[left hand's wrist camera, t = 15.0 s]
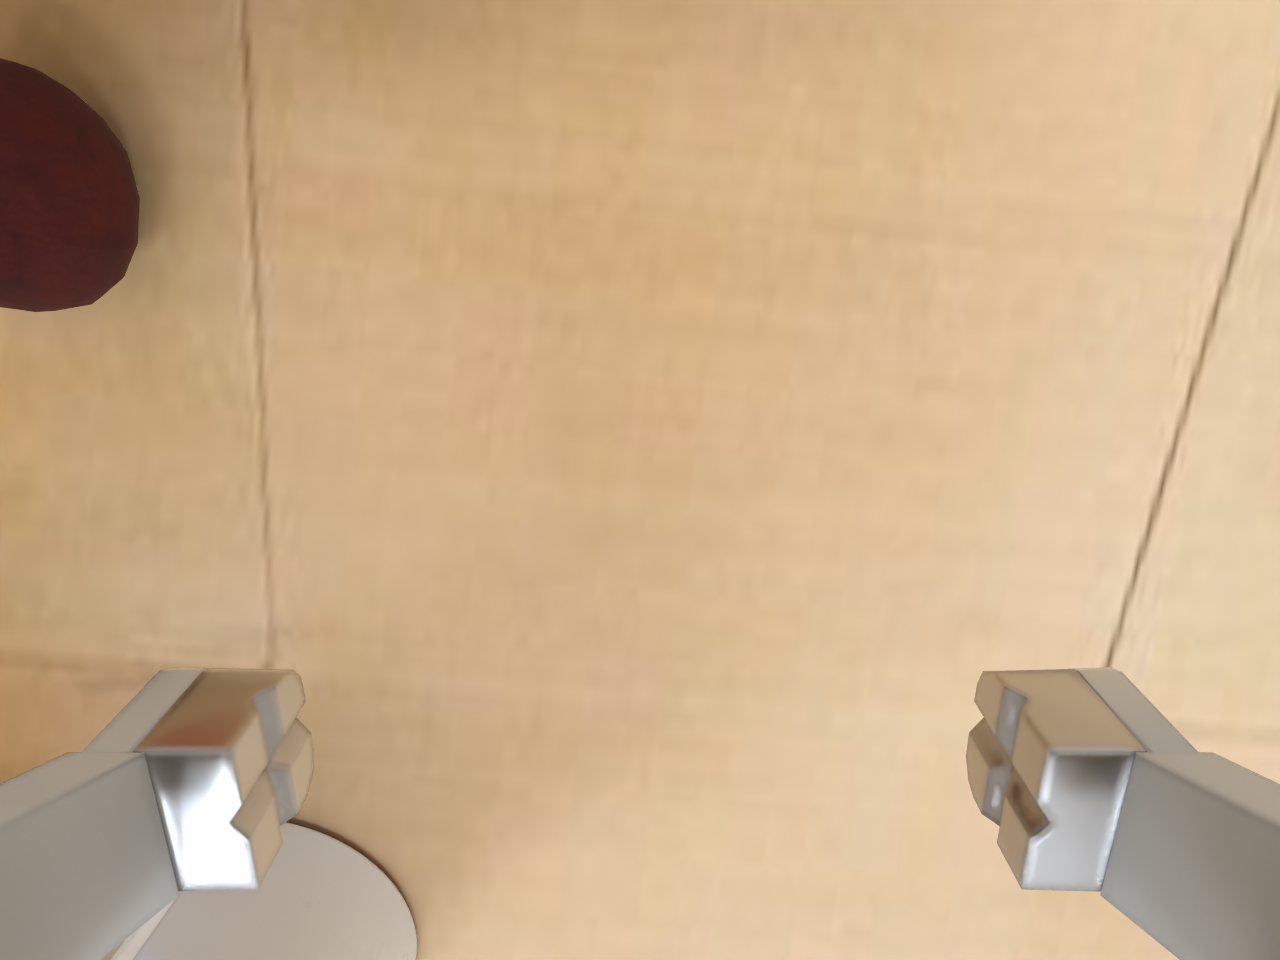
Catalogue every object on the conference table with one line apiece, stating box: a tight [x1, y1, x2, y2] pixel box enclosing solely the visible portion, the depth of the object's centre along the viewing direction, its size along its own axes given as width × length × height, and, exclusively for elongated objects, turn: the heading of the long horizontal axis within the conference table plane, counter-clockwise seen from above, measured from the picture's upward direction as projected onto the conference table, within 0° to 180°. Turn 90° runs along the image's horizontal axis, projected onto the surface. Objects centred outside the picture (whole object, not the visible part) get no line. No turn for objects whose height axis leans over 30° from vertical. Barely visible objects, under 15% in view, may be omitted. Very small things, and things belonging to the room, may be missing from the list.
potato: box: [0, 58, 139, 312], centre depth 26 cm, size 7×8×7 cm
